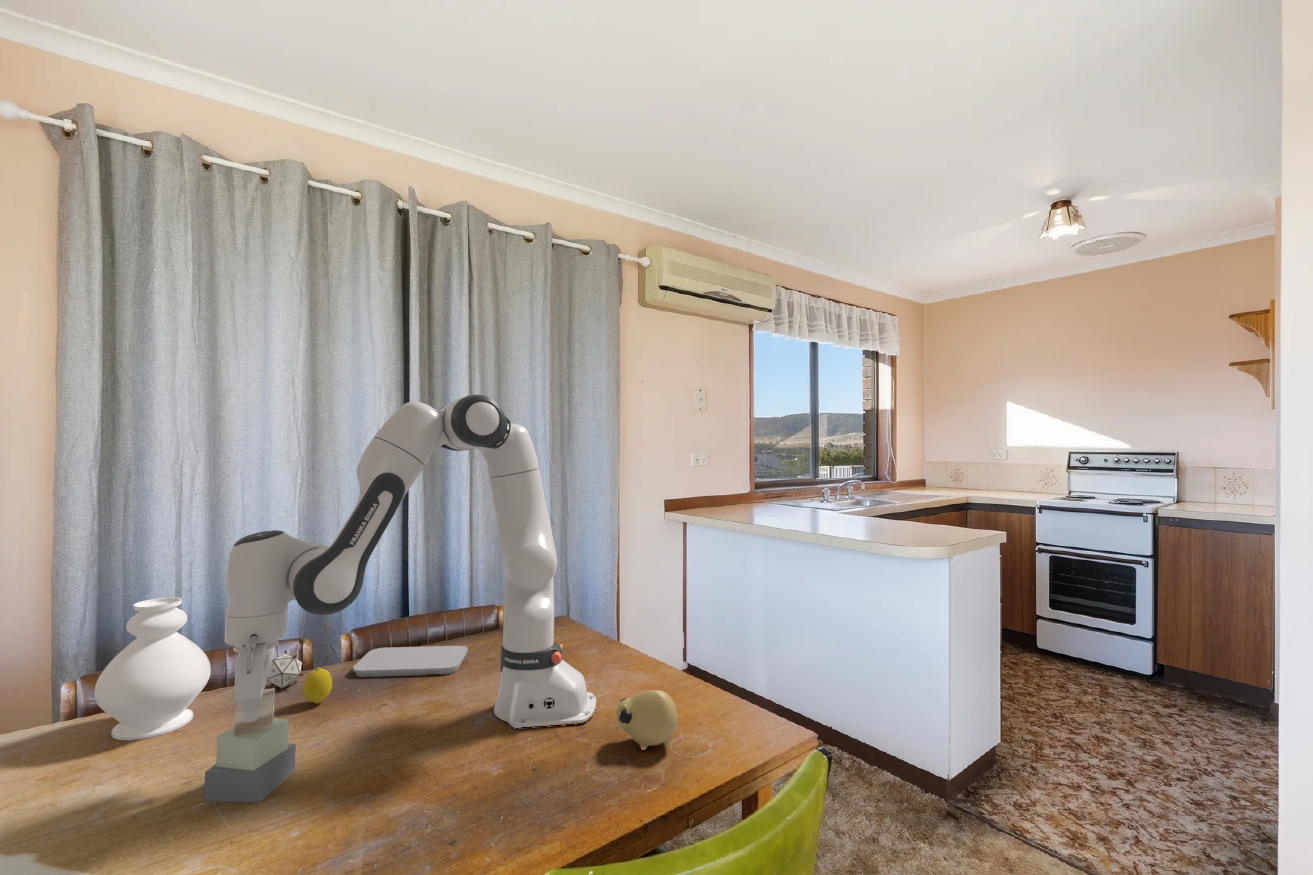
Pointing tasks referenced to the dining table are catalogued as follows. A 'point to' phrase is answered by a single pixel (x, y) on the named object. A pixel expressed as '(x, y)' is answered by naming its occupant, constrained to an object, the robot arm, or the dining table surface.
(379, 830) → the dining table surface
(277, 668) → the game die
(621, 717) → the toy pig
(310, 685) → the lemon
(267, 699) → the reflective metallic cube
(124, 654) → the decorative vase
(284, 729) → the sage top block
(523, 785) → the dining table surface
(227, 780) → the charcoal base block
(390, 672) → the tablet
